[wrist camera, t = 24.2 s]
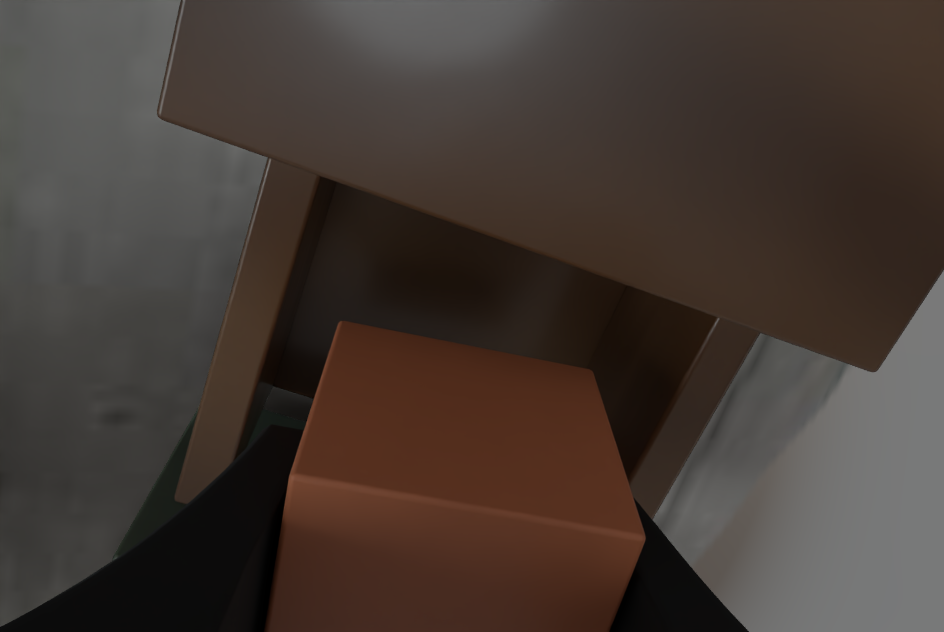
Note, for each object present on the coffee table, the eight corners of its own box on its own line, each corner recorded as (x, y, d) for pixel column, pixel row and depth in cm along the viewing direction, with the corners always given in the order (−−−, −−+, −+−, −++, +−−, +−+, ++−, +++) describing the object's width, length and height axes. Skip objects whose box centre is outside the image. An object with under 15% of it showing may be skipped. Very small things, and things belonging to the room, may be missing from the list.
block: (529, 565, 14) (554, 776, 11) (303, 526, 14) (246, 733, 10) (593, 367, 13) (648, 537, 9) (339, 317, 12) (289, 475, 9)
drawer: (491, 646, 23) (499, 855, 18) (160, 557, 21) (63, 755, 16) (810, 29, 16) (981, 66, 11) (361, -164, 15) (306, -227, 9)
